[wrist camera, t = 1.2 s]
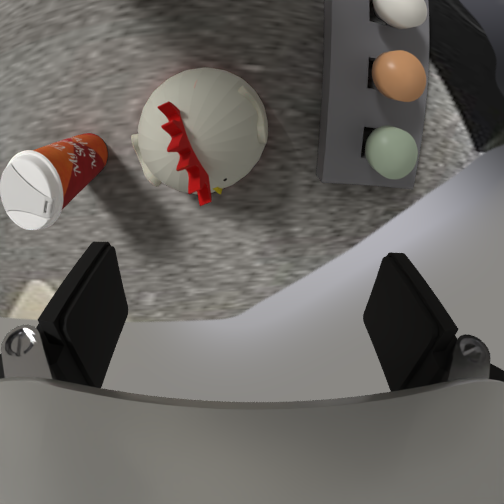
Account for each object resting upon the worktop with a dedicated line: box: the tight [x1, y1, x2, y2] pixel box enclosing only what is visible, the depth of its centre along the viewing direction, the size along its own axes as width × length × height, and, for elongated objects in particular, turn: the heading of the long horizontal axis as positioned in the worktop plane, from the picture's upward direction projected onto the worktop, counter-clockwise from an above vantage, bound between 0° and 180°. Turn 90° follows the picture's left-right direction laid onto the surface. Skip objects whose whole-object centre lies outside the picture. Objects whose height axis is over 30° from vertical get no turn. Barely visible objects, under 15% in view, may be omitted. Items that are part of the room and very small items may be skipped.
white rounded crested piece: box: [131, 67, 268, 206], centre depth 25 cm, size 14×14×15 cm
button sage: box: [365, 125, 418, 179], centre depth 28 cm, size 5×5×5 cm
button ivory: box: [373, 0, 427, 29], centre depth 19 cm, size 5×5×5 cm
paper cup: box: [0, 133, 108, 230], centre depth 26 cm, size 8×8×14 cm
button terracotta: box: [372, 50, 426, 102], centre depth 23 cm, size 5×5×5 cm
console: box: [316, 0, 429, 189], centre depth 27 cm, size 26×12×3 cm, turn 179°
